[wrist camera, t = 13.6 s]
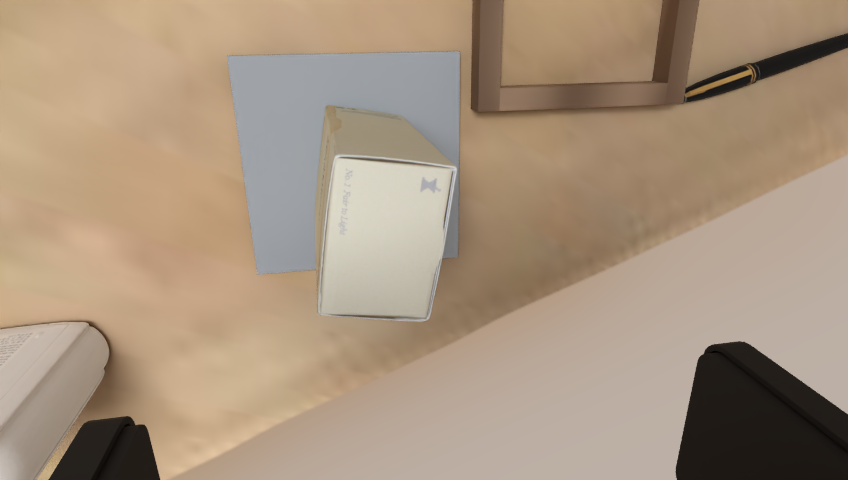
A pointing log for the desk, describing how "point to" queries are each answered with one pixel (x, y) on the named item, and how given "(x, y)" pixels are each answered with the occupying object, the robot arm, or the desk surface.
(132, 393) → the desk surface
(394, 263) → the skincare box
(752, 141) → the desk surface
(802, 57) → the fountain pen
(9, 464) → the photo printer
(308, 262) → the rubber mat
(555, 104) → the collar
